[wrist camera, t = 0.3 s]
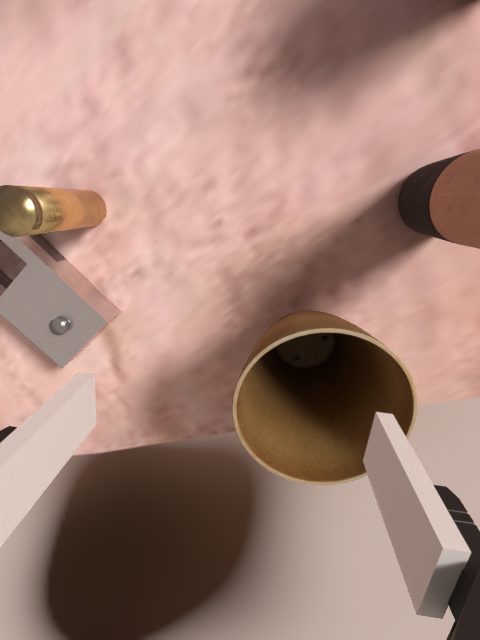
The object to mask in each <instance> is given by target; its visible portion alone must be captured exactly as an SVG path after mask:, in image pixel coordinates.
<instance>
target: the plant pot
mask: <svg viewBox="0 0 480 640" xmlns="http://www.w3.org/2000/svg"><path fill="white" fill-rule="evenodd" d="M323 336H326V338H323ZM297 356H299V359H296V357H297ZM417 408H418V406H417V394H416V388H415V385H414V382H413V379H412V377H411V374H410V373H409V371H408V369H407V368H406V366H405V365H404V363H403V362H402V361H401V359H400V358H399V357H398V356H397V355H396V354H395V353H394V352H393V351H391V350H390V349H389V348H388V347H386V346H385V345H384V344H383V343H381V342H380V341H378V340H377V339H375V338H374V337H373V336H371V335H370V334H368V333H367V332H365V331H364V330H362V329H361V328H359V327H357V326H356V325H354V324H352V323H350V322H348V321H346V320H344V319H342V318H339V317H337V316H334V315H331V314H328V313H324V312H319V311H300V312H295V313H292V314H290V315H288V316H286V317H284V318H282V319H281V320H280V321H278V322H277V323H276V324H274V325H273V326H272V327H271V328H270V329H269V330H268V331H267V332H266V334H265V335H264V336H263V337H262V339H261V340H260V341H259V343H258V344H257V346H256V347H255V348H254V350H253V352H252V353H251V355H250V357H249V359H248V361H247V363H246V365H245V367H244V369H243V371H242V373H241V375H240V378H239V380H238V383H237V385H236V388H235V392H234V396H233V404H232V415H233V422H234V426H235V430H236V432H237V435H238V437H239V439H240V441H241V443H242V444H243V446H244V447H245V449H246V450H247V452H249V454H250V455H251V456H252V457H253V458H254V459H255V460H256V461H257V462H258V463H260V464H261V465H262V466H263V467H264V468H266V469H268V470H269V471H271V472H273V473H274V474H276V475H278V476H281V477H283V478H286V479H288V480H292V481H295V482H299V483H304V484H312V485H333V484H340V483H346V482H350V481H354V480H357V479H359V478H362V477H364V476H367V475H368V474H367V471H366V469H365V466H364V463H363V459H364V455H365V451H366V447H367V443H368V440H369V436H370V432H371V428H372V425H373V421H374V417H375V413H376V412H380V413H388V414H393V415H394V417H395V419H396V420H397V422H398V424H399V426H400V427H401V429H402V431H403V433H404V435H405V436H406V438H407V440H408V438H409V436H410V434H411V432H412V430H413V427H414V424H415V420H416V416H417Z"/></svg>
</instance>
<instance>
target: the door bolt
mask: <svg viewBox="0 0 480 640" xmlns="http://www.w3.org/2000/svg"><path fill="white" fill-rule="evenodd" d="M0 240H2V241H3V242H4V243H5V244H6V245H7V246H8V247H9V248H10V249H11V250H12V251H13V252H15V253H16V254H17V255H18V256H19V257H20V258H21V259H22V260H23V261H24V262H25V263H26V264H27V265H26V266H25V267H24V268H23V270H22V271H21V272H20V273H19V274H18V276H17V277H16V278H15V279H14V281H12V280H11V279H10V278H9V277H8V276H6V275H5V274H4V273H3V272H2V271H1V270H0V314H1V315H2V316H3V317H4V318H5V319H6V320H8V321H9V322H10V323H11V324H12V325H13V326H14V327H16V328H17V329H18V330H19V331H20V332H21V333H22V334H24V335H25V336H26V337H27V338H28V339H29V340H30V341H32V342H33V343H34V344H35V345H36V346H37V347H38V348H39V349H41V350H42V351H43V352H44V353H45V354H46V355H47V356H49V357H50V358H51V359H52V360H53V361H54V362H55V363H57V364H58V365H59V366H60V367H61V368H63V367H64V366H65V365H67V364H68V363H69V362H70V361H72V360H73V359H74V358H75V357H77V356H78V355H79V354H80V353H81V352H82V351H83V350H84V349H85V348H86V347H87V346H88V345H89V344H90V343H91V342H92V341H93V340H94V339H95V338H96V337H97V336H98V335H99V334H100V333H101V332H102V331H103V330H104V329H105V328H106V327H107V326H108V325H109V324H110V323H111V322H112V321H113V320H114V319H115V318H116V316H117V315H118V314H119V313H120V312H121V311H120V310H119V309H118V308H117V307H116V306H115V305H114V304H113V303H111V302H110V301H109V300H108V299H107V298H106V297H105V296H104V295H103V294H102V293H101V292H100V291H99V290H98V289H97V288H96V287H95V286H94V285H93V284H92V283H90V282H89V281H88V280H87V279H86V278H85V277H84V276H83V275H82V274H81V273H80V272H79V271H78V270H77V269H76V268H75V267H74V266H73V265H72V264H71V263H69V262H68V261H67V260H66V259H65V258H64V257H63V256H62V255H61V254H60V253H59V252H58V251H57V250H56V249H55V248H54V247H53V246H52V245H51V244H50V243H48V242H47V241H46V240H45V239H44V238H43V237H42V236H41V235H40V234H35V235H28V236H21V237H13V236H9V235H6V234H5V233H3V232H1V231H0Z"/></svg>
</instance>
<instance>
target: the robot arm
mask: <svg viewBox="0 0 480 640" xmlns="http://www.w3.org/2000/svg"><path fill="white" fill-rule="evenodd" d="M95 425H96V401H95V376H94V375H93V374H85V373H78V374H77V375H75V376H74V377H73V378H72V379H71V380H70V381H69V382H68V383H67V384H65V385H64V386H63V387H62V388H61V389H60V390H59V391H58V392H57V393H55V394H54V395H53V396H52V397H51V398H50V399H49V400H48V401H46V402H45V403H44V404H43V405H42V406H41V407H40V408H39V409H38V410H36V411H35V412H34V413H33V414H32V415H31V416H30V417H29V418H28V419H26V420H25V421H24V422H23V423H22V424H21V425H20V426H19V427H11V426H9V427H7V428H5V429H3V430H1V431H0V547H1V546H2V545H3V543H4V542H5V541H6V539H7V538H8V537H9V536H10V534H11V533H12V532H13V530H14V529H15V528H16V526H17V525H18V524H19V522H20V521H21V520H22V519H23V518H24V516H25V515H26V514H27V512H28V511H29V510H30V509H31V507H32V506H33V505H34V503H35V502H36V501H37V500H38V498H39V497H40V496H41V494H42V493H43V492H44V491H45V489H46V488H47V487H48V486H49V484H50V483H51V482H52V480H53V479H54V478H55V477H56V475H57V474H58V473H59V471H60V470H61V469H62V468H63V466H64V465H65V464H66V462H67V461H68V460H69V459H70V457H71V456H72V455H73V453H74V452H75V451H76V450H77V448H78V447H79V446H80V444H81V443H82V442H83V441H84V439H85V438H86V437H87V436H88V434H89V433H90V432H91V430H92V429H93V428H94V427H95ZM363 463H364V466H365V469H366V471H367V474H368V477H369V480H370V483H371V486H372V489H373V491H374V494H375V497H376V500H377V502H378V506H379V508H380V511H381V514H382V517H383V520H384V522H385V526H386V528H387V531H388V534H389V537H390V540H391V543H392V545H393V548H394V551H395V554H396V557H397V560H398V562H399V565H400V568H401V571H402V574H403V577H404V579H405V583H406V585H407V588H408V591H409V594H410V597H411V600H412V603H413V605H414V608H415V611H416V614H417V615H422V616H429V617H435V618H443V616H444V614H445V612H446V610H447V607H448V605H449V607H450V609H451V612H452V614H453V616H454V618H455V622H454V624H453V626H452V629H451V631H450V633H449V635H448V637H447V640H480V531H479V530H478V528H477V526H476V525H474V522H473V520H472V518H471V517H470V515H469V514H467V510H466V509H465V507H464V506H463V504H462V503H461V501H460V499H459V498H458V497H457V496H456V495H455V494H454V493H453V492H451V491H450V490H449V489H448V488H447V487H444V486H437V485H433V484H432V482H431V480H430V479H429V477H428V475H427V473H426V471H425V470H424V468H423V466H422V465H421V463H420V461H419V459H418V457H417V456H416V454H415V452H414V450H413V449H412V447H411V445H410V443H409V442H408V440H407V438H406V436H405V435H404V433H403V431H402V429H401V427H400V426H399V424H398V422H397V420H396V419H395V417H394V415H393V414H388V413H380V412H376V413H375V417H374V421H373V425H372V428H371V432H370V436H369V440H368V443H367V447H366V451H365V455H364V459H363Z"/></svg>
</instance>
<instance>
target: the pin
mask: <svg viewBox="0 0 480 640" xmlns="http://www.w3.org/2000/svg"><path fill="white" fill-rule="evenodd" d="M105 217H106V205H105V202H104V200H103V199H102V198H101V196H100V195H99V194H97V193H96V192H93V191H90V190H76V189H60V188H43V187H27V186H11V185H3V186H0V231H1V232H3V233H5V234H6V235H9V236H13V237H21V236H28V235H35V234H43V233H50V232H57V231H64V230H71V229H78V228H86V227H93V226H97V225H99V224H101V223H102V222H103V221H104V219H105Z"/></svg>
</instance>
